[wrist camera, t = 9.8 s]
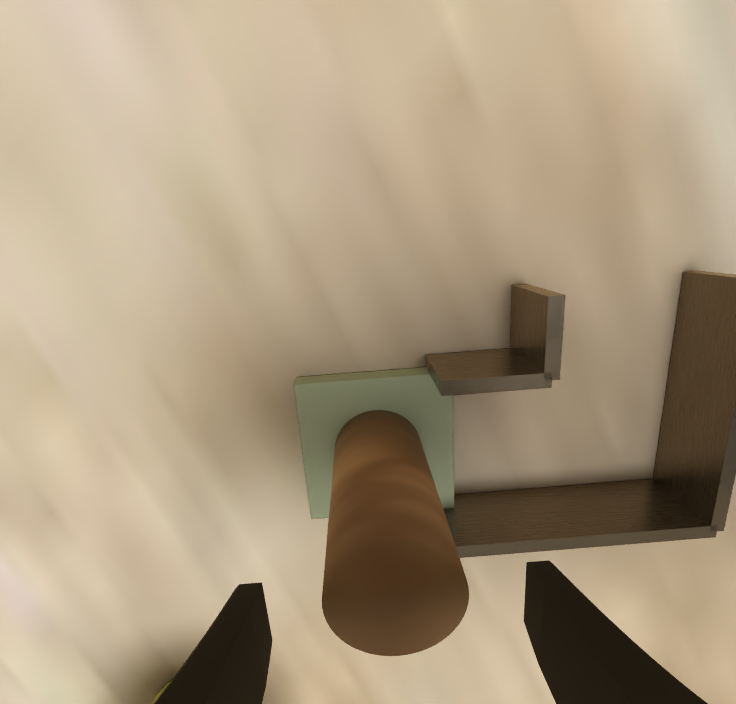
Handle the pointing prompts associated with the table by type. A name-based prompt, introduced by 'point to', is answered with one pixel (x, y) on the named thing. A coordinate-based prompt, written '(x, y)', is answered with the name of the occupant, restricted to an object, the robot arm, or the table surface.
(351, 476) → the peg
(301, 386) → the end pad
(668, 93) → the table surface
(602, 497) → the walled course
